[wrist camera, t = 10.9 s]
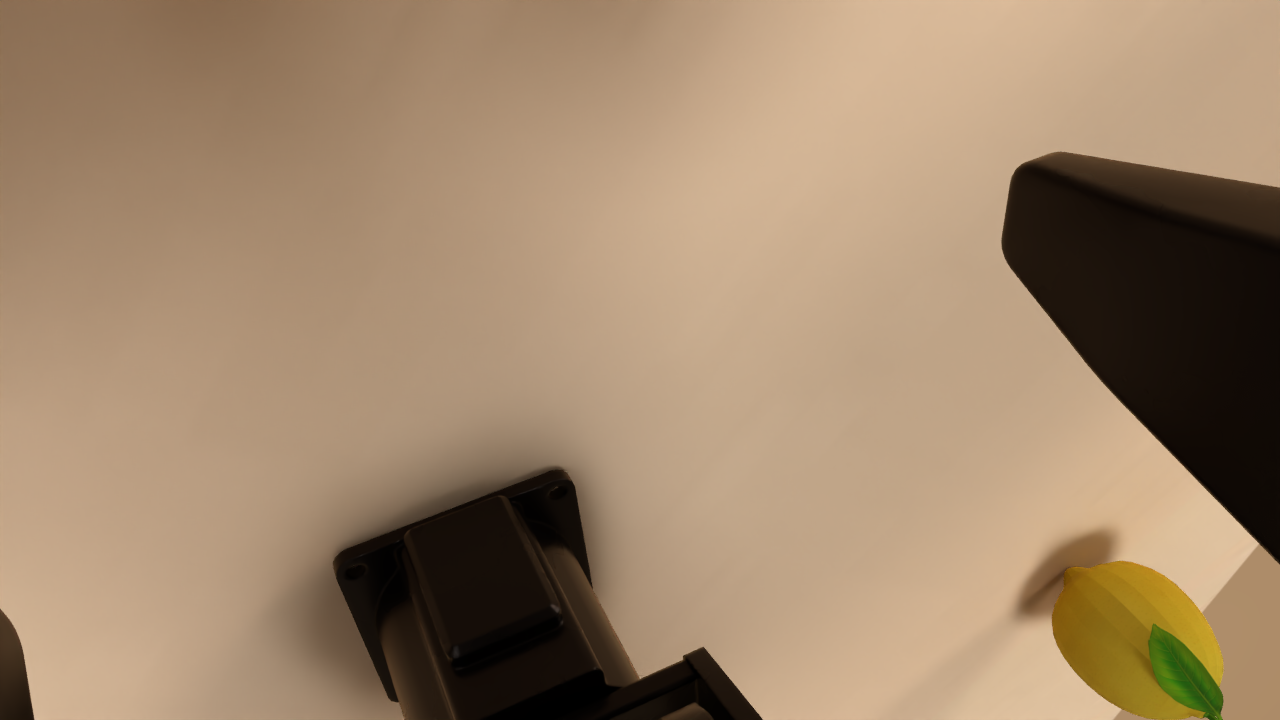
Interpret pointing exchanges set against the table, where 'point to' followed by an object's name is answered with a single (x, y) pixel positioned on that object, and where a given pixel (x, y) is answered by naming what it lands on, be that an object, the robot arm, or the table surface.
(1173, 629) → the lemon
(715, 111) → the table surface
